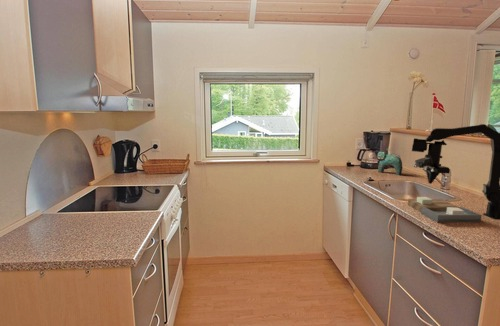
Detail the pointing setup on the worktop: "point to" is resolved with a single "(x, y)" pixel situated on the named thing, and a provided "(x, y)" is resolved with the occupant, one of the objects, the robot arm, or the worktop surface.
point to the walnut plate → (431, 205)
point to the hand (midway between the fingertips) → (430, 183)
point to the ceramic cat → (389, 162)
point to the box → (452, 216)
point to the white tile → (454, 210)
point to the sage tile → (424, 200)
